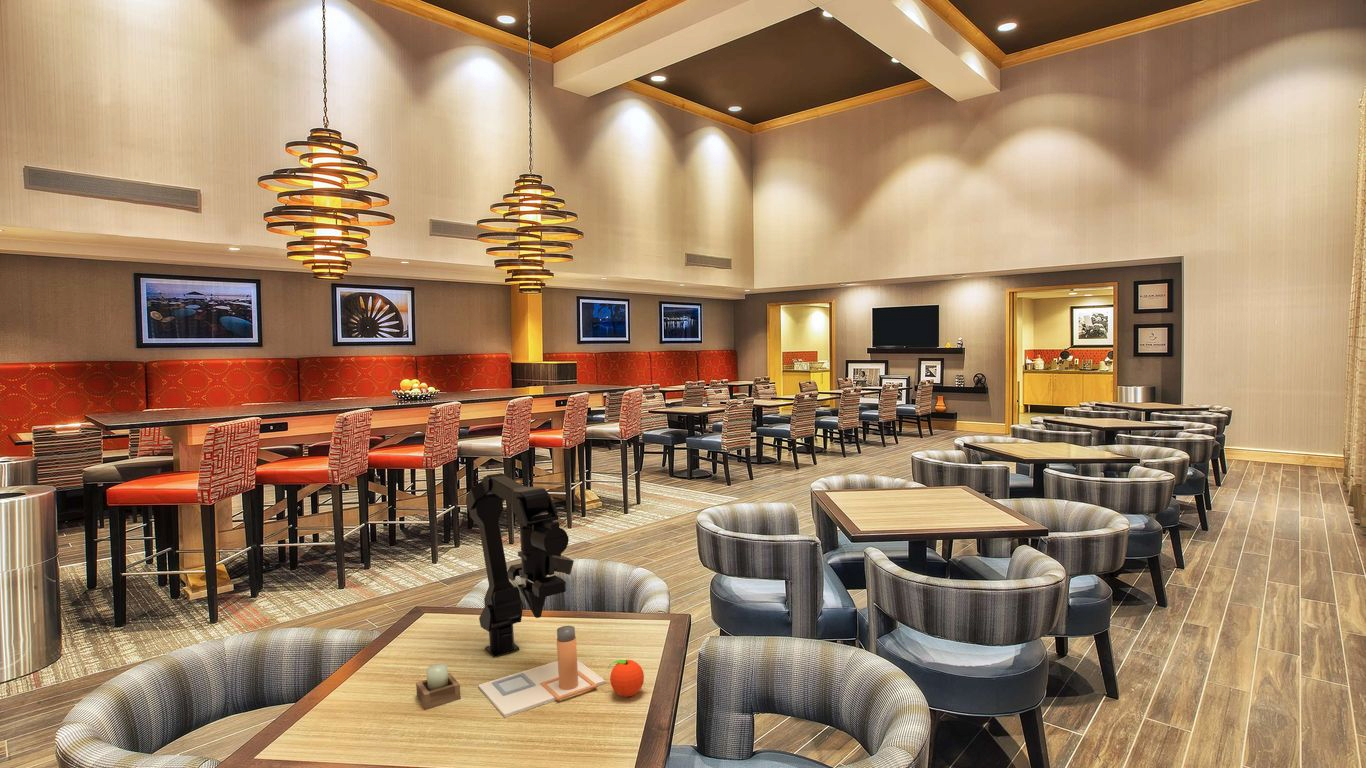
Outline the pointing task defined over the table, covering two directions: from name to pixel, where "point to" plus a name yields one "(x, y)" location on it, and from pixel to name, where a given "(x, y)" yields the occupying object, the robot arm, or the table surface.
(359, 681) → the table surface
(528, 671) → the picture sheet
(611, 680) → the clementine
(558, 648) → the marker
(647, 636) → the table surface
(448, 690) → the button base
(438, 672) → the button
